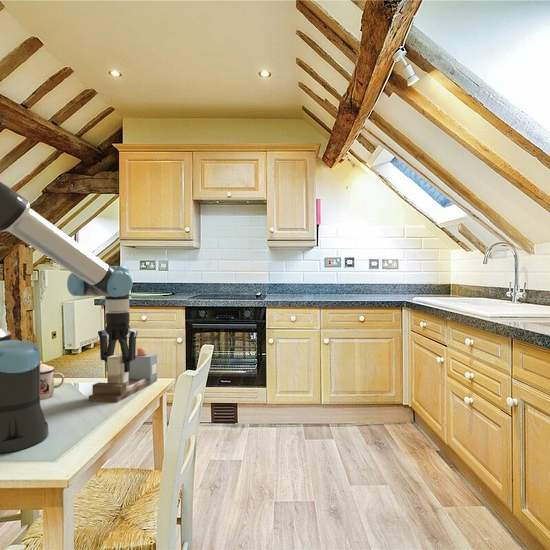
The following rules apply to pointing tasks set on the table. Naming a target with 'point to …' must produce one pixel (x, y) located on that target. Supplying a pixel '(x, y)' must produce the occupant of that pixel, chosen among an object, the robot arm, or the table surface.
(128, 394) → the rail bed
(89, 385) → the table surface
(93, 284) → the robot arm
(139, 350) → the button
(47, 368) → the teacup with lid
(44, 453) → the table surface
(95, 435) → the table surface
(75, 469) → the table surface
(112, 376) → the carriage
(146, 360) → the cabinet
